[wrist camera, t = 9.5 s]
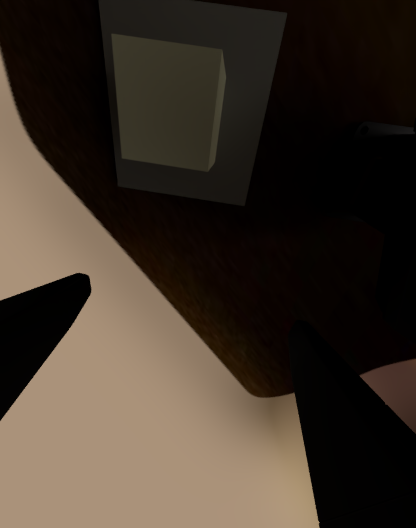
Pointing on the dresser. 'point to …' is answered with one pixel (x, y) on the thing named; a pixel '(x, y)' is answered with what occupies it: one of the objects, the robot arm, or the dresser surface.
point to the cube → (168, 101)
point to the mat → (235, 93)
